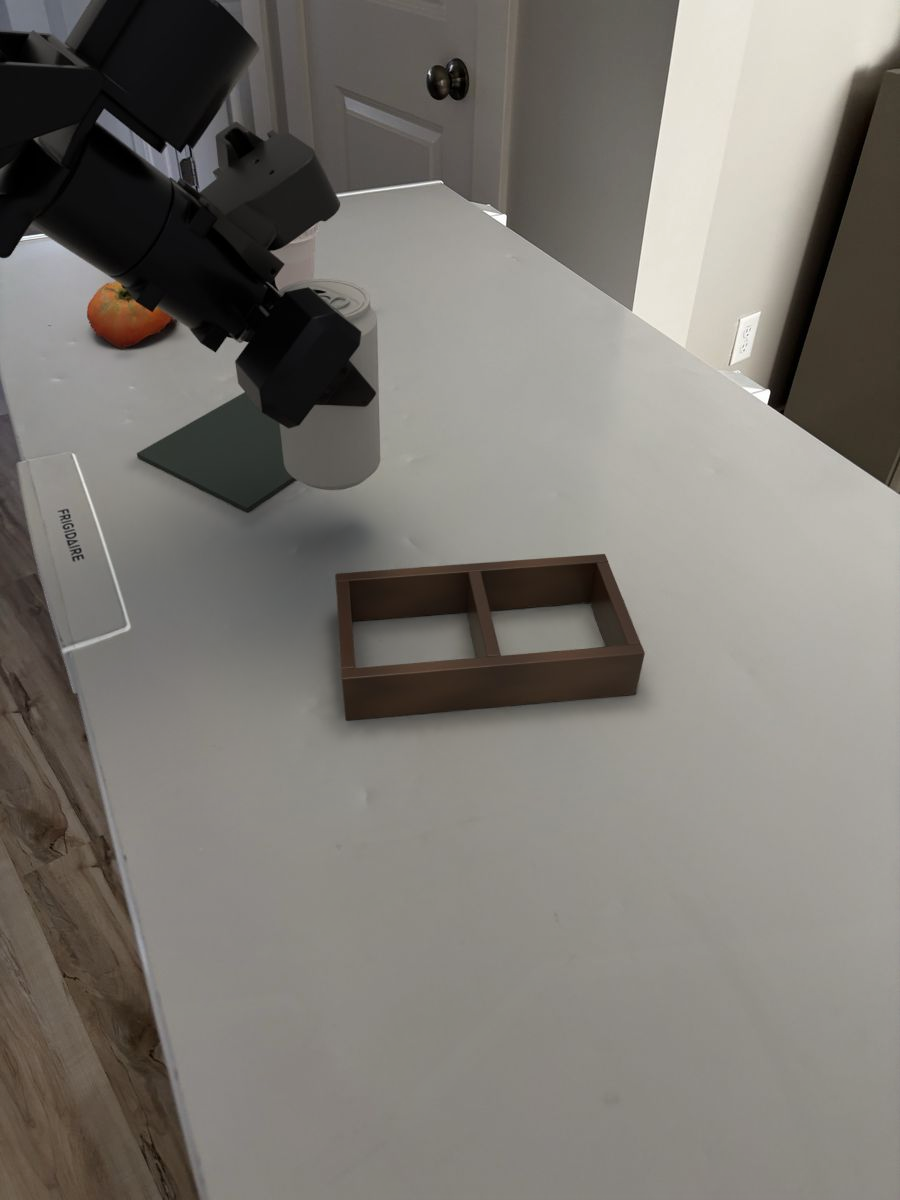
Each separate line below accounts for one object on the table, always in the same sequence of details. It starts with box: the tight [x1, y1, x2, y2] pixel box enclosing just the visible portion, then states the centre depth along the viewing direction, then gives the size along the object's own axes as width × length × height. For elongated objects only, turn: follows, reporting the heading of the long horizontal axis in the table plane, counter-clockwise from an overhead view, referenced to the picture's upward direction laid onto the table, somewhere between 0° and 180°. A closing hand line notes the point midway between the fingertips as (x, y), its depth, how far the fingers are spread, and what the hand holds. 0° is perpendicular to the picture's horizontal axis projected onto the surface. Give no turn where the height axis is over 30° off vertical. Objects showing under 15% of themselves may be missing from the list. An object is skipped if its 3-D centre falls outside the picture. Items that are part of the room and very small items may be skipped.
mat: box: [136, 391, 297, 513], centre depth 74 cm, size 12×12×1 cm
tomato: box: [86, 280, 178, 350], centre depth 88 cm, size 8×7×7 cm
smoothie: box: [271, 222, 320, 290], centre depth 86 cm, size 6×6×14 cm
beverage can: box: [278, 278, 381, 491], centre depth 58 cm, size 6×6×12 cm
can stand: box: [334, 553, 646, 721], centre depth 56 cm, size 17×9×4 cm, turn 97°
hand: (346, 375), depth 58 cm, fingers closed on beverage can, 6 cm apart
